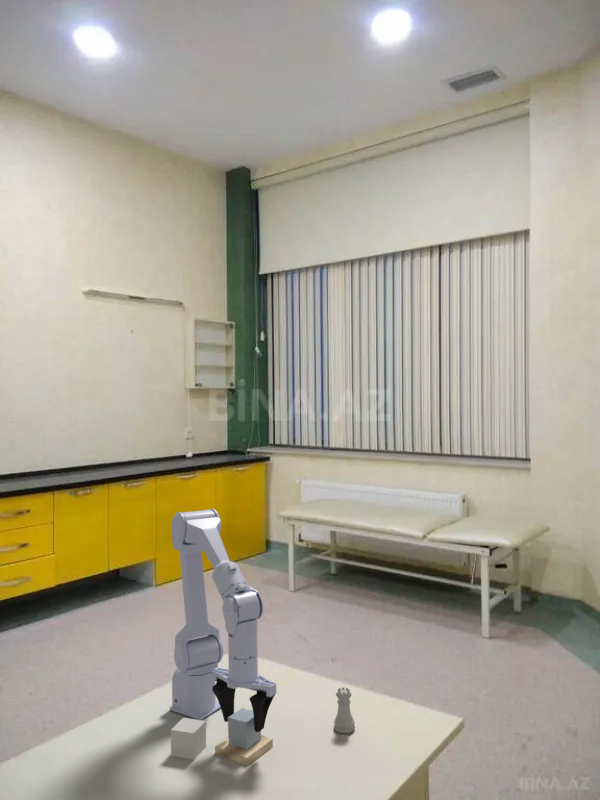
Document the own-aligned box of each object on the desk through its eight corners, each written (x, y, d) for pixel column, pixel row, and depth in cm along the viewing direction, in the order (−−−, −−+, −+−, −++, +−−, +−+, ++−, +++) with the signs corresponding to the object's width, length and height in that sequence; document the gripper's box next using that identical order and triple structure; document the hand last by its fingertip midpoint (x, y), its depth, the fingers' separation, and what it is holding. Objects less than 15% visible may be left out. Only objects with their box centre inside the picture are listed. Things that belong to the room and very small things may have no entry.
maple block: (215, 756, 117) (215, 746, 117) (241, 738, 124) (241, 728, 124) (247, 768, 112) (247, 757, 113) (272, 749, 119) (272, 738, 119)
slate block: (228, 743, 118) (227, 717, 118) (243, 733, 121) (242, 708, 122) (246, 749, 115) (246, 722, 116) (261, 738, 119) (260, 712, 119)
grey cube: (170, 756, 116) (170, 729, 116) (183, 743, 121) (183, 717, 121) (194, 760, 115) (194, 733, 115) (206, 746, 119) (205, 720, 120)
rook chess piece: (353, 735, 123) (353, 695, 123) (332, 733, 124) (331, 693, 124) (356, 724, 127) (355, 686, 127) (335, 722, 128) (334, 684, 128)
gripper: (201, 653, 119) (202, 723, 119) (260, 668, 111) (261, 744, 111) (224, 642, 125) (225, 709, 125) (282, 656, 117) (283, 727, 117)
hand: (243, 724), depth 118 cm, fingers open, 7 cm apart
